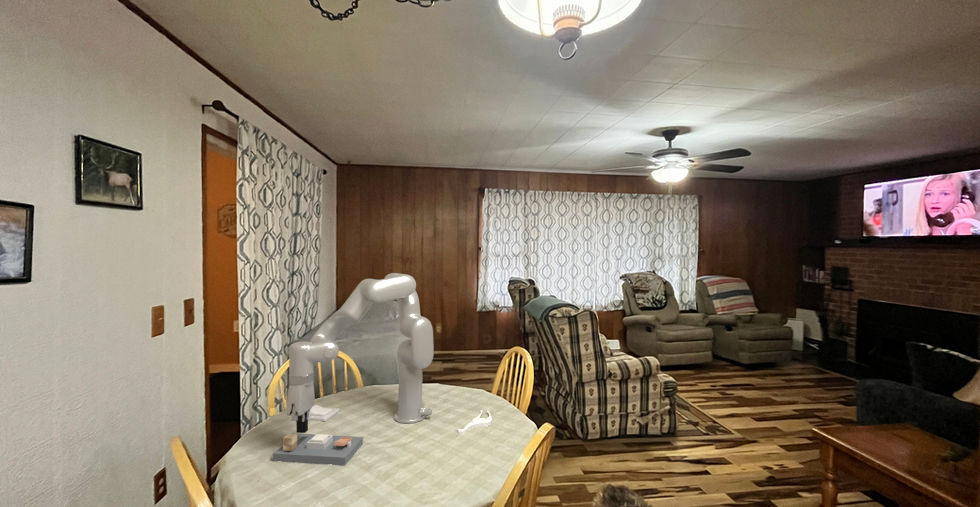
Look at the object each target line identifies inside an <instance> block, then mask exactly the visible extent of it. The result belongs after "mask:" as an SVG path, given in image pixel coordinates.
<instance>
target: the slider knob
mask: <svg viewBox="0 0 980 507" xmlns="http://www.w3.org/2000/svg"><path fill="white" fill-rule="evenodd" d="M297 434H298V433H297ZM297 434H295V433H287V434H286V435H285V436H284V437H283V438H282V446H283V450H285V451H292V450H293V449H295V448H296V447H297Z"/></svg>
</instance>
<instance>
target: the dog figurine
mask: <svg viewBox="0 0 980 507" xmlns="http://www.w3.org/2000/svg"><path fill="white" fill-rule="evenodd" d="M479 412H480V413H479V414H478V416H476V417H474V418H473V419H471V421H470V422H468V423H467V424H466V425H465V426H464V427H463V428H456V429H455V432H456V433H457V434H458V435H465V434H466V433H468V432H469V431H470V430H472V429H474V428H473V427H476V428H480V427H479V426H481V427H489V426H488V425H490V426H492V424H493V418H492V414H491V413H490V411H489V410H486V411H485V412H487V414H488V417H486V418H485V417H482V414H483V412H484V410H482V409H480V410H479ZM491 423H492V424H491ZM471 428H472V429H471ZM467 431H468V432H467ZM464 433H465V434H464Z"/></svg>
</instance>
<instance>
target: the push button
mask: <svg viewBox="0 0 980 507" xmlns="http://www.w3.org/2000/svg"><path fill="white" fill-rule="evenodd" d="M316 434H317V435H316V436H315V437H314V438H313V439H311V442H319V443H324V442H325V441H326V440H327V439H328V438H329V435H330V434H321V433H316Z"/></svg>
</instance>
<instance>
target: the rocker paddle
mask: <svg viewBox="0 0 980 507" xmlns="http://www.w3.org/2000/svg"><path fill="white" fill-rule="evenodd" d="M351 440H352V438H351V437H341V439H339V440H337V441H336V442H335V443H334V445H337V446H344V445H347V443H348V442H349V441H351Z"/></svg>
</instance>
